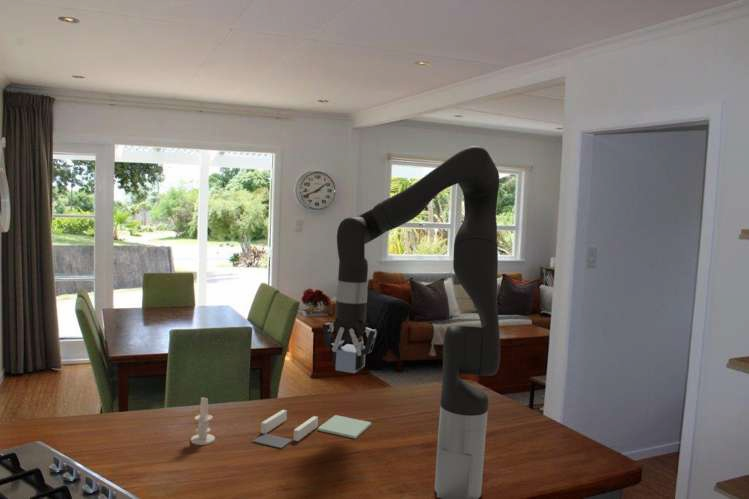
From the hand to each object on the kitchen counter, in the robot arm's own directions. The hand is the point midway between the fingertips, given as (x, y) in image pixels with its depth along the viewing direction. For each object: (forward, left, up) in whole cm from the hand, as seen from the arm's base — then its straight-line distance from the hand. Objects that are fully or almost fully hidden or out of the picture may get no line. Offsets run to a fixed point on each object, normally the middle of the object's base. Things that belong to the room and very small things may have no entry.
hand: (347, 367), depth 149 cm
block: (+2, 0, -1) cm, 2 cm away
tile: (0, 0, -15) cm, 15 cm away
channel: (-10, +11, -15) cm, 21 cm away
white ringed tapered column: (-23, +25, -15) cm, 37 cm away
